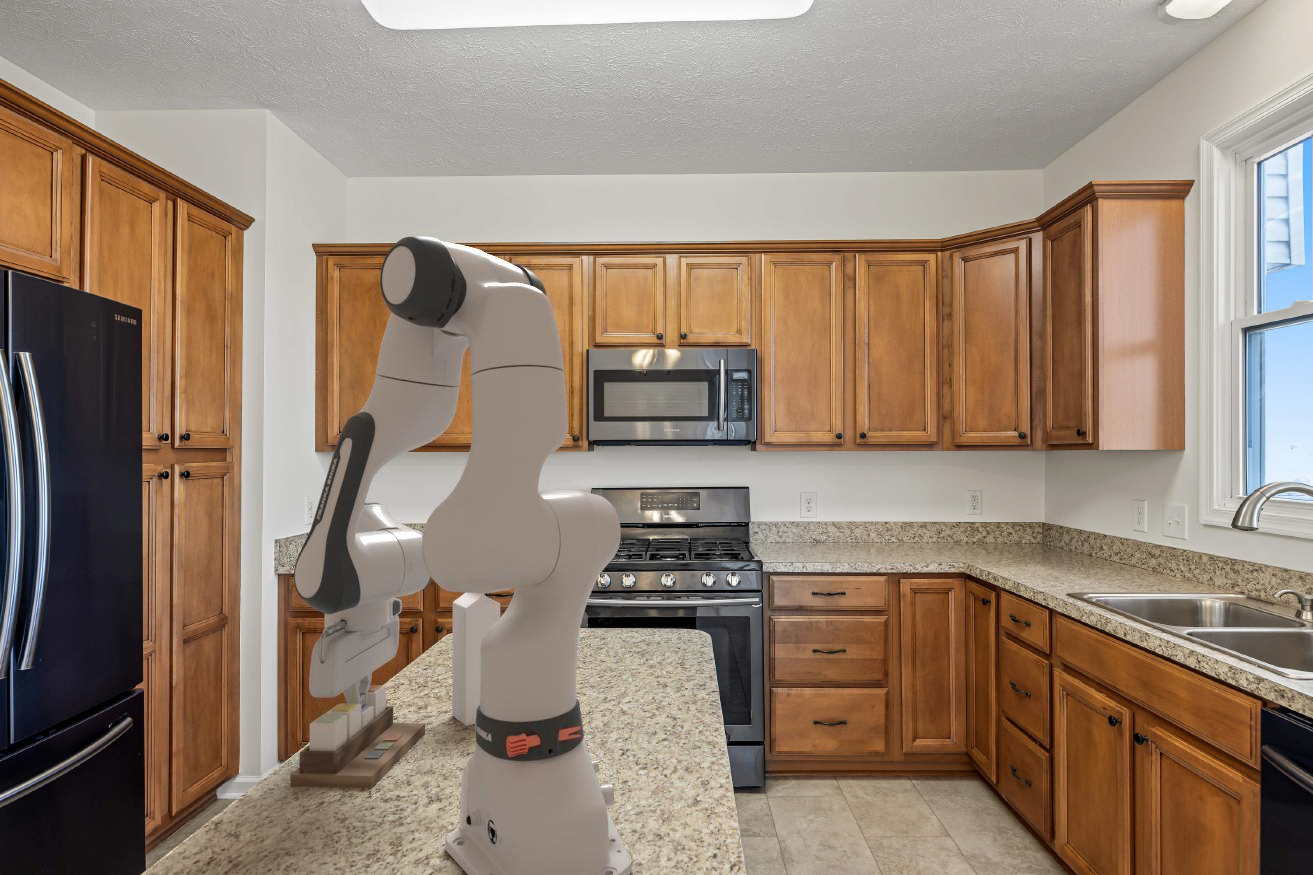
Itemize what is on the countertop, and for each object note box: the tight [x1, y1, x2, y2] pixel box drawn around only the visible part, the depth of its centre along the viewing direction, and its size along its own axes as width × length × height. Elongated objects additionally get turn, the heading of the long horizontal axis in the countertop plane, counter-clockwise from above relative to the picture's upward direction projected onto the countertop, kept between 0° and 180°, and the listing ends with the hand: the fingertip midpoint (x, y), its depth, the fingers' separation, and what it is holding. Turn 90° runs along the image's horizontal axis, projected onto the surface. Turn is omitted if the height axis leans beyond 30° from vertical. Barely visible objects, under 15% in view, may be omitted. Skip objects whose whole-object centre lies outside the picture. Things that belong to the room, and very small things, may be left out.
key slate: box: [361, 705, 374, 730], centre depth 102 cm, size 3×3×4 cm
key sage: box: [308, 713, 347, 751], centre depth 94 cm, size 3×3×4 cm
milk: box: [451, 592, 501, 727], centre depth 116 cm, size 6×6×22 cm
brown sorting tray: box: [289, 705, 426, 789], centre depth 100 cm, size 18×11×4 cm, turn 177°
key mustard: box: [325, 702, 361, 741], centre depth 98 cm, size 3×3×4 cm
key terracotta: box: [365, 684, 387, 719], centre depth 106 cm, size 3×3×4 cm
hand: (356, 707), depth 102 cm, fingers closed, pressing on key slate
